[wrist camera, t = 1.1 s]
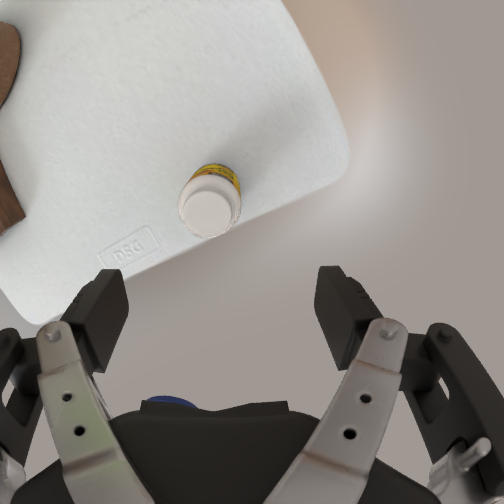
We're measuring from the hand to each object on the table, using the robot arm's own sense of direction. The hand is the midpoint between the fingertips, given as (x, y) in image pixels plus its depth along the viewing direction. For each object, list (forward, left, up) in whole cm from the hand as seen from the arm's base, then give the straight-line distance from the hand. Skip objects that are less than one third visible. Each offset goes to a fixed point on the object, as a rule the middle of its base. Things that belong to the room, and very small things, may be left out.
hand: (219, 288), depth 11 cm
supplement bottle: (0, +2, -22) cm, 22 cm away
